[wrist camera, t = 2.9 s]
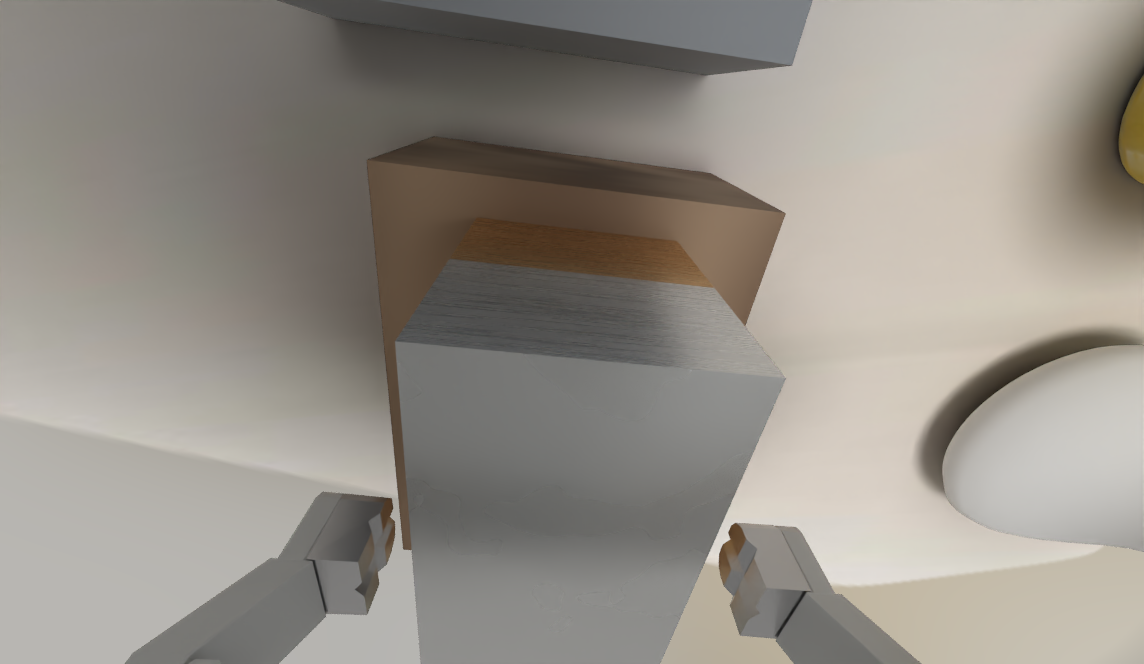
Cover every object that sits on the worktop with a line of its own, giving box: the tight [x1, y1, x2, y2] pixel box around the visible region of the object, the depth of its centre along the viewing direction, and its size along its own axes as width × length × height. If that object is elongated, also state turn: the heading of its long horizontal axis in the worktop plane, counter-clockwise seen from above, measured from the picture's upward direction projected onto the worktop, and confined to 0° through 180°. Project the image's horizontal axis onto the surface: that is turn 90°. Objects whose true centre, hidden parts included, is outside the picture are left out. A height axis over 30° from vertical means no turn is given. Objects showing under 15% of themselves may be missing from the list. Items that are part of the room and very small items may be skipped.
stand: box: [367, 137, 786, 550], centre depth 16 cm, size 10×14×6 cm
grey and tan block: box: [395, 217, 786, 664], centre depth 11 cm, size 5×12×6 cm, turn 173°
